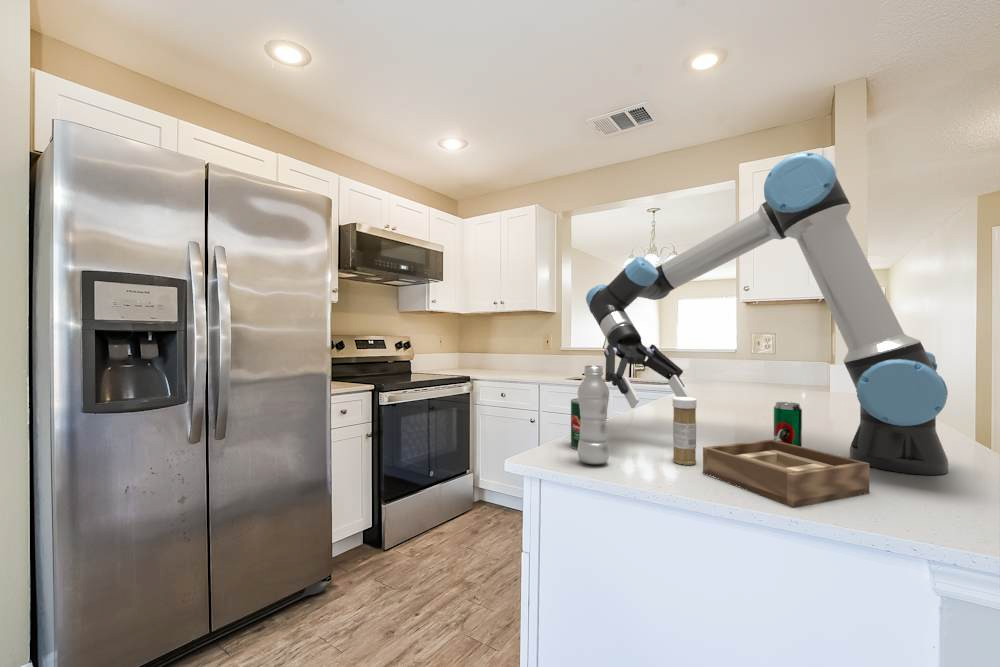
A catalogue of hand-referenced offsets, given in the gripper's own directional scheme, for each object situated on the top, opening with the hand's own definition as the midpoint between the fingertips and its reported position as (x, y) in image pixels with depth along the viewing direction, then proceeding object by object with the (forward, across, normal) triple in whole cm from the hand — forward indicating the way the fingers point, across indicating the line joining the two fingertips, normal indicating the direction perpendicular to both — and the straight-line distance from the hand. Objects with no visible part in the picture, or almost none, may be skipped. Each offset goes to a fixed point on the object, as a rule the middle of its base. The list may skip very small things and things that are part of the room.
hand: (661, 402), depth 99 cm
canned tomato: (0, +12, -17) cm, 20 cm away
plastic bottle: (+9, +17, -8) cm, 21 cm away
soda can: (+17, -23, 0) cm, 28 cm away
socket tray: (+24, -8, +8) cm, 26 cm away
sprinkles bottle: (+13, -1, -4) cm, 13 cm away
